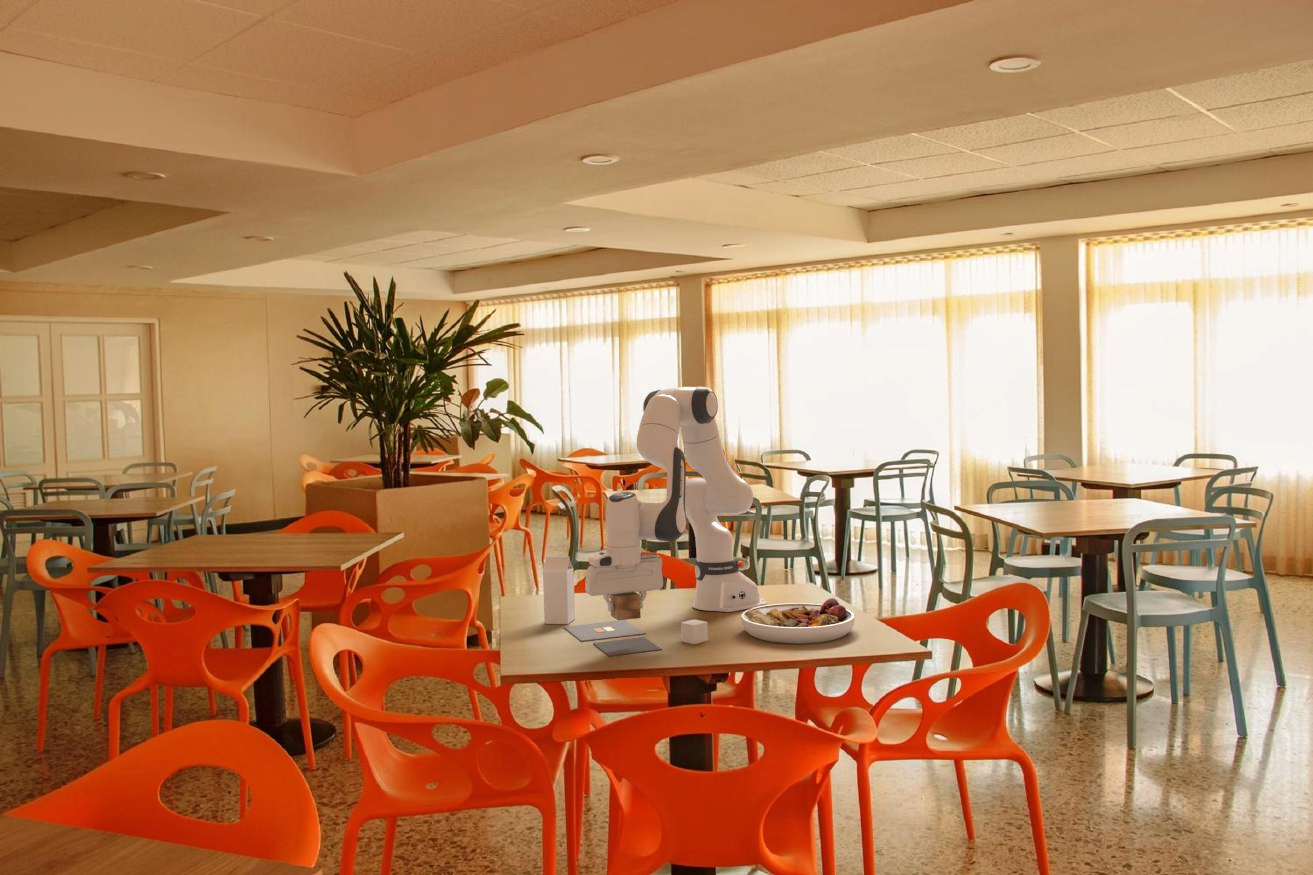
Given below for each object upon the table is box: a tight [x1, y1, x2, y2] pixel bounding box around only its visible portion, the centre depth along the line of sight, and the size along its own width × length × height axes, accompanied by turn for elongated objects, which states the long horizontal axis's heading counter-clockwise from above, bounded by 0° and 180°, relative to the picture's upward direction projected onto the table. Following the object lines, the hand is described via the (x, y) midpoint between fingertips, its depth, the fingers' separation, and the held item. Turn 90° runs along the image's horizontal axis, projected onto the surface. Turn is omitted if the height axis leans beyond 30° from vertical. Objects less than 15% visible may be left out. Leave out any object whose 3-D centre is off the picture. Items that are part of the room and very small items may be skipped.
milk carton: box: [542, 556, 576, 625], centre depth 289 cm, size 7×7×19 cm
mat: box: [592, 636, 663, 657], centre depth 258 cm, size 14×14×1 cm
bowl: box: [740, 597, 855, 645], centre depth 268 cm, size 30×30×8 cm
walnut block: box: [610, 592, 642, 621], centre depth 257 cm, size 6×6×6 cm
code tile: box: [563, 620, 646, 643], centre depth 276 cm, size 18×18×1 cm
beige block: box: [680, 618, 709, 645], centre depth 262 cm, size 5×5×5 cm
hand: (625, 609), depth 257 cm, fingers closed on walnut block, 6 cm apart
